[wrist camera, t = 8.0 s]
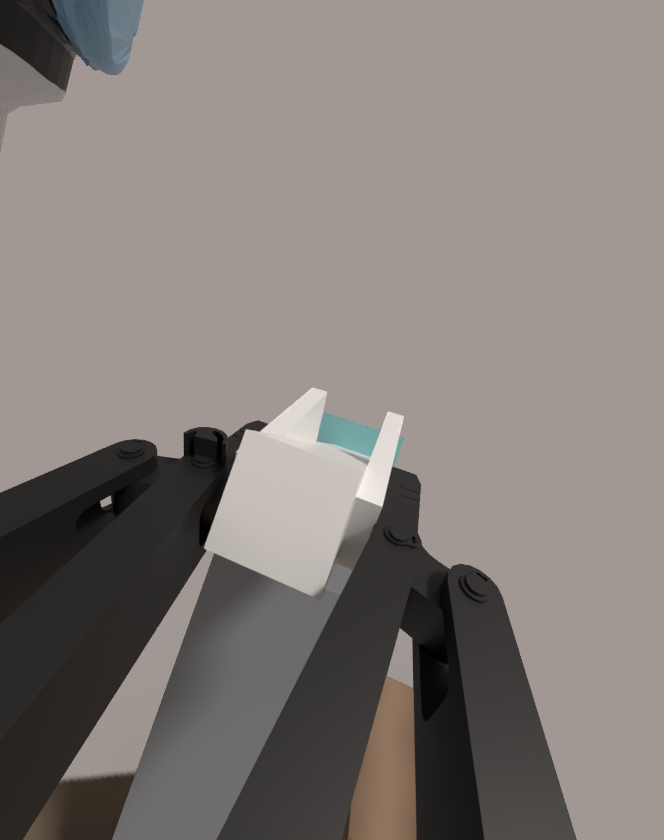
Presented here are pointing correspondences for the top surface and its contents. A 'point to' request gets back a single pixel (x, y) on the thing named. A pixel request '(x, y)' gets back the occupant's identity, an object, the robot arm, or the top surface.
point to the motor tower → (222, 700)
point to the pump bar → (293, 502)
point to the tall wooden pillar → (387, 772)
